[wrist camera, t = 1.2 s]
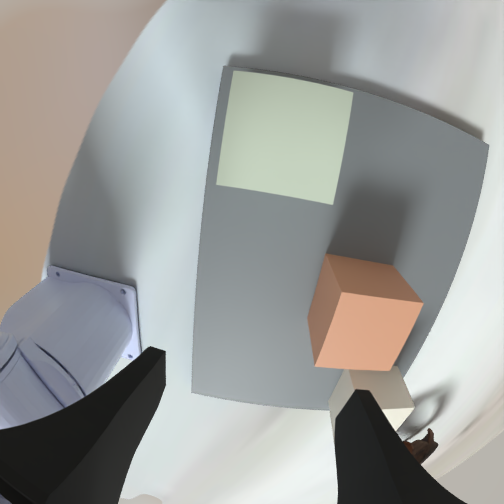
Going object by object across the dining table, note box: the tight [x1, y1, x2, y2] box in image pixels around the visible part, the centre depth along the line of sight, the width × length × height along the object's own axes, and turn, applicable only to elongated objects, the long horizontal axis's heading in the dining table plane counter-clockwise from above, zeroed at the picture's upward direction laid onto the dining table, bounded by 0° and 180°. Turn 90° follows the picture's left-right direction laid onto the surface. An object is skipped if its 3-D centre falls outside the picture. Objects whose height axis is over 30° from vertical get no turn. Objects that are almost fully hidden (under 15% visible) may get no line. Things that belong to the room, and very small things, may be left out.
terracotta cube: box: [307, 253, 424, 371], centre depth 16 cm, size 5×5×5 cm
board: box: [191, 66, 489, 410], centre depth 19 cm, size 19×26×1 cm
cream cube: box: [328, 366, 415, 444], centre depth 20 cm, size 5×5×5 cm
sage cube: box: [216, 71, 353, 205], centre depth 13 cm, size 5×5×5 cm
